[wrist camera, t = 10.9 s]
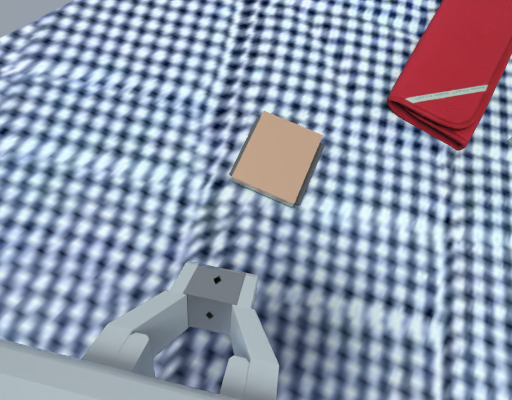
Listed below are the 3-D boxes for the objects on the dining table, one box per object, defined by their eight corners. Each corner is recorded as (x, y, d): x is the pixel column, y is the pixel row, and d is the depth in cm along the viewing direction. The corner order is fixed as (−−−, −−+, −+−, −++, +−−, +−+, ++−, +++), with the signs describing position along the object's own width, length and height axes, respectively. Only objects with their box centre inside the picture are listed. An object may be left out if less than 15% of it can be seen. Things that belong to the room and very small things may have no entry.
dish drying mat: (535, -3, 53) (556, -23, 49) (458, 154, 45) (477, 144, 41) (464, -38, 55) (479, -59, 51) (377, 108, 46) (388, 95, 42)
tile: (294, 204, 38) (322, 135, 41) (231, 176, 39) (263, 110, 41) (291, 207, 40) (318, 142, 43) (232, 181, 41) (263, 118, 44)
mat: (298, 205, 41) (299, 204, 40) (229, 174, 42) (229, 173, 41) (323, 146, 43) (324, 144, 43) (257, 118, 44) (257, 116, 44)
